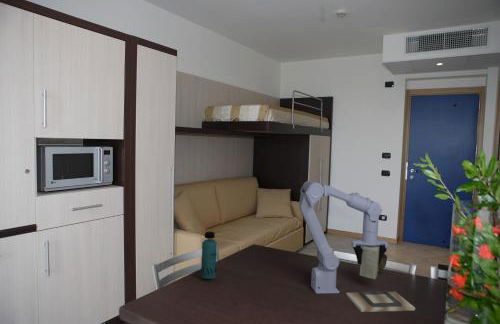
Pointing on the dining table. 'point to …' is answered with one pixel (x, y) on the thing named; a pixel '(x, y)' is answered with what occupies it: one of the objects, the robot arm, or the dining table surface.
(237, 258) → the dining table surface
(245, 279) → the dining table surface
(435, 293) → the dining table surface
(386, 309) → the socket board
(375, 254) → the skincare box
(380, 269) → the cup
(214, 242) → the beverage bottle
